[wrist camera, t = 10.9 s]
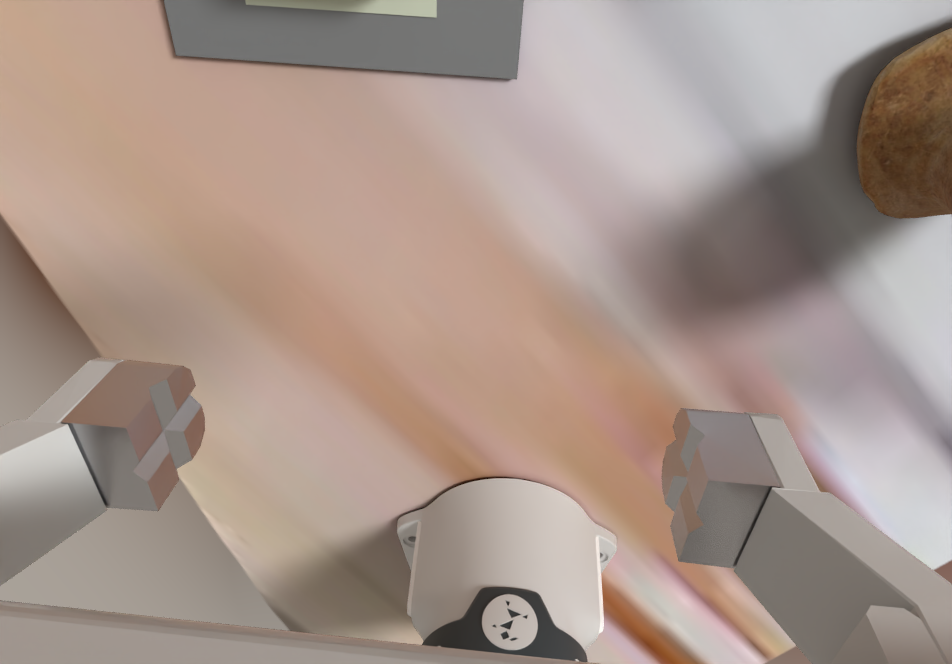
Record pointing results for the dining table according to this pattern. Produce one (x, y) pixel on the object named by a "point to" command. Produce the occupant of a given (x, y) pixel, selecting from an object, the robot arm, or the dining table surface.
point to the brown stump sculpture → (910, 133)
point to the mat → (355, 33)
